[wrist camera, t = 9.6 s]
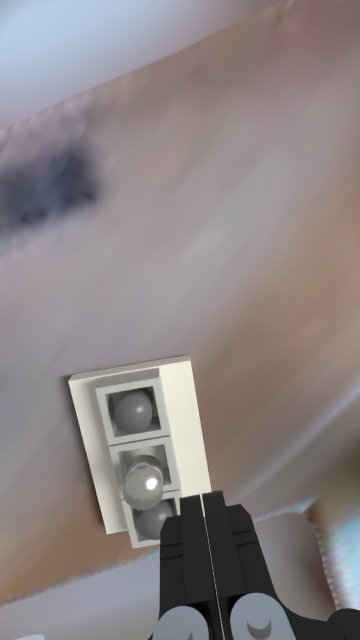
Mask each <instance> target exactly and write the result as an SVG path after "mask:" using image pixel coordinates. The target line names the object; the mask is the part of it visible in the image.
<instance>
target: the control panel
mask: <svg viewBox="0 0 360 640" xmlns="http://www.w3.org/2000/svg"><path fill="white" fill-rule="evenodd" d="M68 382H69V386H70V390H71V394H72V398H73V402H74V406H75V410H76V414H77V417H78V421H79V425H80V429H81V433H82V437H83V441H84V445H85V449H86V453H87V457H88V461H89V465H90V469H91V473H92V477H93V481H94V485H95V489H96V493H97V497H98V501H99V505H100V509H101V513H102V516H103V520H104V524H105V528H106V532H107V534H112V533H117V532H123V531H129V535H130V539H131V543H132V548H133V549H134V548H139V547H145V546H150V545H156V544H160V540H150V539H147V538H145V537H144V536H143V535H142V534H141V533H140V531H139V528H138V523H139V511H140V510H138V509H134V508H132V507H131V506H129V505H128V504H127V503H126V501H125V499H124V495H123V491H124V485H125V478H126V472H127V466H128V464H129V462H130V461H131V460H132V459H133V458H135V457H137V456H139V455H151V456H154V457H155V458H157V459H158V460H159V461H160V462H161V464H162V467H163V497H162V499H168V498H172V504H173V516H177V515H180V502H179V498H181V497H187V496H192V495H198V494H200V498H201V503H202V509H203V515H204V517H205V513H204V506H203V500H202V494H203V493H209V492H211V486H210V480H209V473H208V467H207V461H206V455H205V449H204V443H203V436H202V430H201V424H200V418H199V412H198V405H197V399H196V393H195V387H194V381H193V374H192V368H191V362H190V357H189V355H185V356H179V357H173V358H167V359H161V360H155V361H149V362H144V363H138V364H132V365H126V366H120V367H114V368H108V369H102V370H96V371H90V372H85V373H79V374H73V375H72V376H71V378H70V379H69V381H68ZM143 387H145V388H147V389H148V390H149V392H150V393H151V395H152V399H153V403H152V419H151V422H150V424H149V425H148V427H147V428H146V429H144V430H143V431H141V432H137V433H128V432H125V431H123V430H121V429H120V428H119V427H118V426H117V425H116V423H115V421H114V410H115V406H116V403H117V399H118V396H119V393H120V392H121V391H126V390H132V389H138V388H143ZM162 499H161V500H162Z"/></svg>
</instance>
